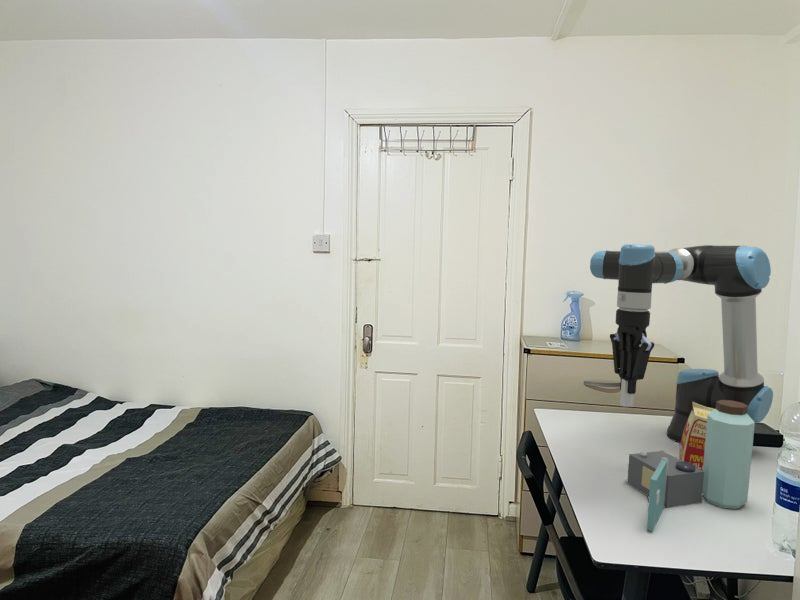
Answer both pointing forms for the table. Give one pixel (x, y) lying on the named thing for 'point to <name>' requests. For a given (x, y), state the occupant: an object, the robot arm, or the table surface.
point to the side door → (657, 493)
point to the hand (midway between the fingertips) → (626, 405)
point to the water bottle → (728, 454)
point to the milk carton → (695, 436)
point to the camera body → (680, 481)
